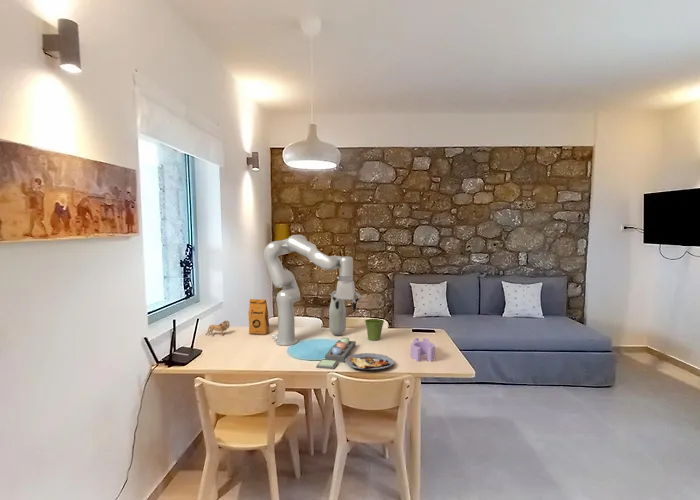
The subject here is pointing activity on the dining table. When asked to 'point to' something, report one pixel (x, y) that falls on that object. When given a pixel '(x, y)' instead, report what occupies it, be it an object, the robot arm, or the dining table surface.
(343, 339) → the sage button
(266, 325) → the coffee package
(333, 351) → the slate button
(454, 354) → the dining table surface
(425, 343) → the clip
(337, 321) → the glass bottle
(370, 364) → the food plate
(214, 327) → the lion figurine
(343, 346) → the peach rounded dome
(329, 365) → the card
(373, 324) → the plant pot
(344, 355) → the button panel
